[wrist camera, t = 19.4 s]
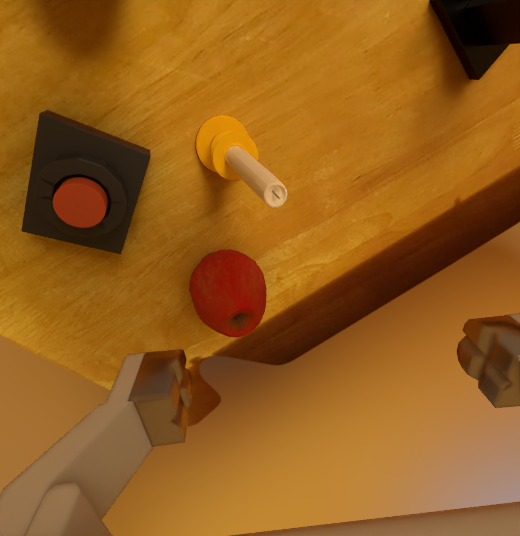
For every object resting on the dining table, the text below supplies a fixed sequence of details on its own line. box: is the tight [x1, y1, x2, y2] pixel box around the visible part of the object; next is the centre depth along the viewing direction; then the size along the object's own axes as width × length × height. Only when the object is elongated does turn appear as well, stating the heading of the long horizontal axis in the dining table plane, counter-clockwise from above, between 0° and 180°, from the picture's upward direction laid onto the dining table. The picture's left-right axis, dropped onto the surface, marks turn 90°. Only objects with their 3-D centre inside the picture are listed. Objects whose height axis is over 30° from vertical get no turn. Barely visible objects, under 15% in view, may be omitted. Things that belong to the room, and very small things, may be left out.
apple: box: [189, 250, 266, 337], centre depth 33 cm, size 8×8×11 cm
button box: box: [22, 110, 150, 254], centre depth 27 cm, size 10×8×4 cm
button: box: [53, 177, 108, 228], centre depth 25 cm, size 4×4×2 cm
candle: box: [195, 115, 287, 208], centre depth 24 cm, size 5×5×16 cm
